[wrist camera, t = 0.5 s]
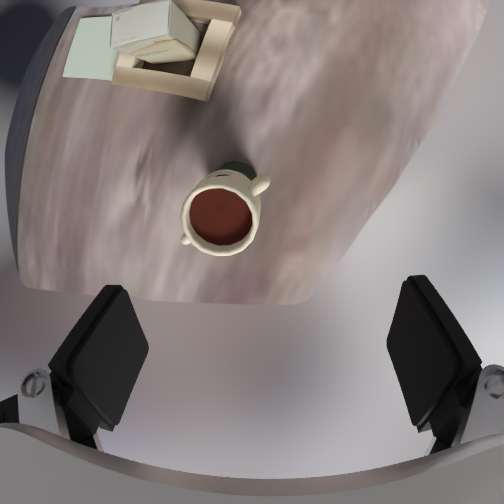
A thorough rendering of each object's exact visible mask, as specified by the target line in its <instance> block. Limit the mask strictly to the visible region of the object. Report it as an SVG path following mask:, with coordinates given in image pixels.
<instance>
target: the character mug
mask: <svg viewBox="0 0 504 504" xmlns="http://www.w3.org/2000/svg"><path fill="white" fill-rule="evenodd" d="M269 184H270V176H269V174H267V173H263V174H260V175H259V176H256V174H255V172H254V171H253V170H252V169H251V168H249V167H248V166H247V165H245V164H241V163H238V162H232V163H226V164H224V165H223V166H222V168H221V170H218V171H217V170H216V171H215V172H213V173H211V174H209V175H208V176H206V177H205V178H204V179H203V180H202V181H201V182H200V183H199V184H198V185H197V186H196V187H195V188H194V189H193V190H192V191H191V193H190V194H189V195H188V196H187V198H186V200H185V201H184V203H183V207H182V212H181V222H182V228H183V231H184V234H183V236H182V238H181V241H182V244H185V245H186V244H189V243H192V244H193V245H194V246H195V247H197V248H198V249H199V250H200V251H202V252H205V253H208V254H211V255H214V256H230V255H233V254H235V253H238V252H240V251H243V250H244V249H245V248H246V247H247V246H248V245H249V244H250V243H251V242H252V241H253V239H254V236H255V233H256V231H257V228H258V226H259V217H260V208H261V206H260V194H259V193H261V192H262V191H264V190H265V189H266V188H268V186H269Z"/></svg>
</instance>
